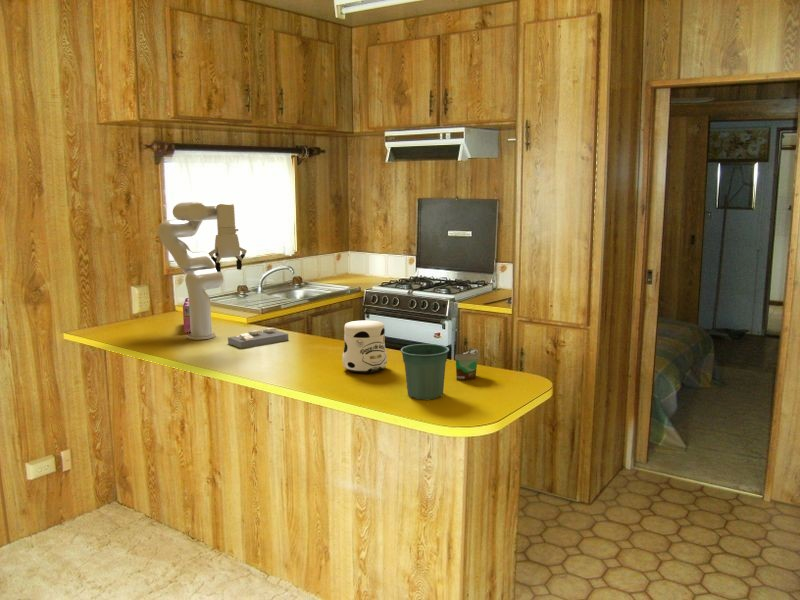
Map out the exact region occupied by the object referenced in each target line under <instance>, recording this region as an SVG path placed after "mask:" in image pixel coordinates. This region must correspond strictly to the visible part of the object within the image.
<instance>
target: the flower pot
mask: <svg viewBox="0 0 800 600" xmlns="http://www.w3.org/2000/svg"><path fill="white" fill-rule="evenodd" d="M400 352H401V354H402V362H403V363H404V370H405V371H404V372H405V378H406V380H405V381H406V390H407V396H408V397H410V398H412V399H413V398H414V399H416V400H423V401H424V400H425V401H428V400H435V399H437V398H441V397H442V396H443V395H444V387H445V385H444V384H445V375H446V373H445V372H446V364H447V361H448V353H449V352H450V348H449V347H447V346H445V345H442V344H433V343H421V344H420V343H419V344H418V343H417V344H409V345H406V346H402V348H401V349H400Z"/></svg>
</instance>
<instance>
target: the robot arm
mask: <svg viewBox="0 0 800 600" xmlns="http://www.w3.org/2000/svg"><path fill="white" fill-rule="evenodd" d="M172 215H173V217H174V218H175V219H170V220H165V221H163V222H161V223H160V224H159V226H158V237H159V240H160V243H161V244H162V245H163V247H164V248H165V249H166V250H167V251H168V253H170V256H172V258H173V260H174V261H175V263H176V264H177V266H178V267H179V269H180V271H182V272H183V273H184V274H186V275H185V280H184V282H185V284H186V285H185V286H186V289H187V290H186V291H187V294H188V295H187V297H188V298H189V310H190V326H191V328H190V330H191V333H188V334H187V339H189V340H192V341H195V340H196V341H199V340H200V341H201V340H203V341H204V340H209V339H213V338H216V333H215V332H213V327H212V310H211V298H210V296H209V295H208V293H207V291H206V290H213V289H218V288H220V287H221V286H222V285H223V283H224V276H223V272H222V271H221V260H222V259H226V258H235V259H236V261H235V262H236V270H239V271H242V268H243V264H242V263H243V262H242V261H243V260H244V258H245V257H246V254H247V252H248V251H247V249H244V248H243V247H241V246H240V242H239V237H238V234H237V232H238V231H239V228H238V227H237V228H236V219H235V218H236V217H235V216H236V215H235V205H234V203H232V202H223V201H221V202H220V201H215V202H214V201H211V202H209V201H208V202H207V201H206V202H198V201H191V202H179V203H177V204H176V205H175V206H174V207H173V208H172ZM210 220H213V221H214V220H216V222H217V225H216V227H217V234H216V235H215V239H214V249H212V250H211V251H209V252H207V251H198V252H197V251H195V252H194V251H192V250H191V248H190V247H189V245H188V244H187V243H185V242H184V241H182V240H181V239H179V238H188V237H189V238H190V237H193V236H195V235H196V234H197V232H198V230H199V228H200V226H201V224H202V223H203V221H210Z"/></svg>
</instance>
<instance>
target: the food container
mask: <svg viewBox="0 0 800 600" xmlns="http://www.w3.org/2000/svg"><path fill="white" fill-rule="evenodd" d="M479 358H480V354H479V351H478V349H477V348H472V347H469V349H468V350H466V351H463V352H462V353H459V354H457V353H455V356H454V361H455V373H456V375H455V376H456V381H461V382H462V381H466V382H467V381H472V380H475V379H476V378H477V369H478V368H477V367H478V359H479Z"/></svg>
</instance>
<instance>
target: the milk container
mask: <svg viewBox="0 0 800 600" xmlns="http://www.w3.org/2000/svg"><path fill="white" fill-rule="evenodd" d="M343 329H344V331H343V332H344V336H343V337H344V338H343V339H344V346H343V348H344V349H343V352H342V356H341V357H342V359H341V360H342V365H343V367H344V369H346V370H347V371H348V372H352V373H360V374H362V373H363V374H364V373H365V374H367V373H368V374H369V373H374V372H375V373H376V372H379V371H382V370H383V369H385V368H386V367H387V364H388V353H387V349H386V344H385V343H386V342H385V340H386V339H385V338H386V334H385V333H386V332H385V330H386V329H385V324H384V323H383V322H381V321H378V320H353V321H349V322H346V323H345V324H344V327H343Z"/></svg>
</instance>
